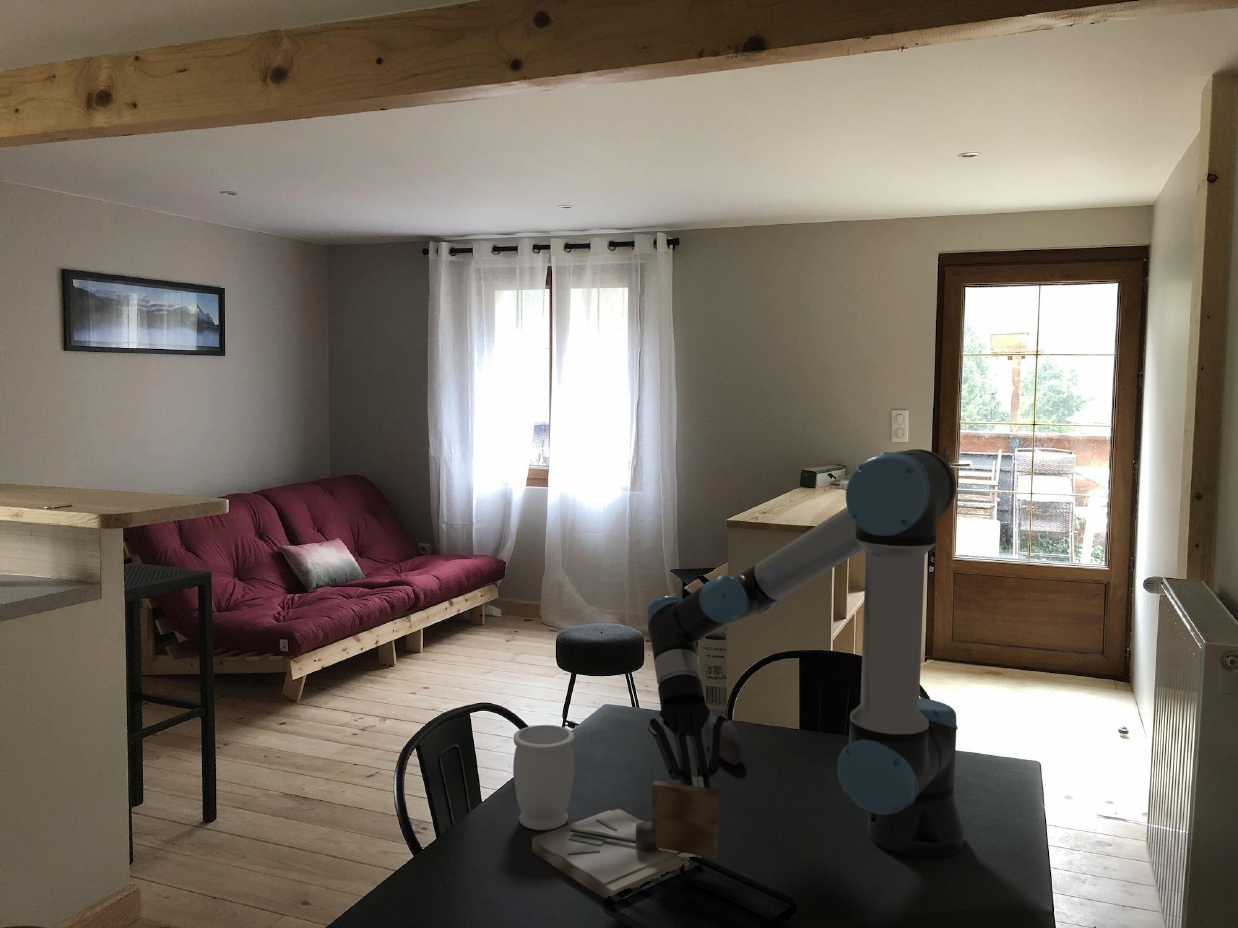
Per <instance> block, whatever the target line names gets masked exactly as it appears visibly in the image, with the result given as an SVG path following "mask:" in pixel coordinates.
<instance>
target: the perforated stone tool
mask: <svg viewBox="0 0 1238 928" xmlns="http://www.w3.org/2000/svg"><path fill="white" fill-rule="evenodd" d="M710 713H711V712H710ZM711 714H713V715H715V716H717V717H718V716H723V717H724V719H725V720H724V722H723V725H722V727H721V729H720V750H719V758H721V759H722V760H723V761H724V762H726V763H728V765H729V764H730V765H732V766H736V765H739V763H740V762H741V760H742V755H743V746H742V745H743V744H742V740H741V738H740V735H739V733H738V731H737V729H736V727H735V725H734V724H733V722H732V721H731V720H730V719H728V717H727V716H725V715H724V714H723V713H720V712H712V713H711ZM703 728H704V737H705V739H706V741H707V743H708V744H709V746H710V734H711V731H712V729H710V728H709V722H708V721H706V723H705V724H704V726H703Z"/></svg>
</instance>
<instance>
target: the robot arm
mask: <svg viewBox="0 0 1238 928" xmlns="http://www.w3.org/2000/svg"><path fill="white" fill-rule="evenodd" d="M956 495H957V480H956V475H955V473H954V471H953V468H952V467H951V465H950V464H949V463H948V461H946V459H944V457H942V456H940V455H939V454H937V453H936V452H933V451H930V450H928V449H921V448H918V449H917V448H916V449H908V450H907V449H906V450H901V451H899V450H898V451H897V450H896V451H889V452H888V451H885V452H882V453H879V454H877V455H874V456H872V457H870V458H868V459H866V460H864V461H863V462H861V463H860V464H859V465H858V466H857V467H856V468H855V470H854V471H853V472H852V474H851V475H850V478H849V480H848V482H847V485H846V490H845V503H846V507H844V508H843V509H841V510H840V511H838V512H836V513H835V514H833V515H832V516H830V517H829V518H827V519H825V520H823V521H822V522H821V523H819V524H818V525H816V526H814V527H813V528H811V529H809V530H808V531H806V532H805V533H803V534H802V535H800V536H799V537H797V538H795V539H793V540H792V541H791V542H789V543H787V544H786V545H784V546H783V547H781V548H780V549H777V551H774V552H773V553H772V554H770V555H769V556H767V557H765V558H764V559H762V560H760V561H759V562H757V563H756V564H755V565H753V566H751V567H750V568H747V570H744V571H742V572H741V573H740V574H738V575H736V576H730V575H728V574H722V575H719V576H717V577H715V578H714V579H711V580H708V581H706V582H705V583H704V585H702V586H701V587H699V588H698V589H696V590H695V591H693V592H692V593H691V594H689V595H688V596H686V597H684V598H682V597H681V596H677V595H666V596H663V597H662V598H657V599H655V600H653V601H652V602H651V603H650V605H649V606H648V608H647V630H648V634H649V638H650V644H651V649H652V655H653V662H654V663H653V664H654V670H655V677H656V683H657V690H658V691H657V692H658V697H659V699H658V700H659V704H660V705H659V706H660V712H659V715H658V716H657V717H655V718H651V719H650V720H649V723H648V726H647V730H648V732H649V733H650V734H651V735H652V736H653V738H654V740H655V741H656V742H655V743H656V745H657V747H658V749H659V752H660V754H661V755H660V756H661V757H662V760H663V762H664V766H665V768H666V770H667V772H668V775H669V778H670V779H671V780H673V781H675V780H677V781H680V784H683V785H689V786H696V787H702V788H709V789H711V785H710V779H713V778H715V777H716V775H717V774H718V771H719V767H720V757H719V750H720V729H721V727H722V725H723V722H724V720H725V719H724V717H723V716H718V717H717V716H715V715H713V714H711V711H710V709H709V707H708V705H707V704H706V699H705V695H704V688H703V683H702V680H701V672H700V667H699V662H698V657H697V656H698V655H697V650H696V645H695V644H696V643H697V642H699V641H700V640H702V639H704V638H705V637H707V636H709V635H710V634H712V633H714V632H716V631H717V630H719V629H721V628H723V627H725V626H728V625H730V624H732V623H735V622H738V621H741V620H743V619H745V618H748V617H750V616H753V615H759V614H762V613H763V612H765V611H767V610H768V609H769V608H771V607H772V606H773V605H774V604H775V603H776V602H778V601H779V600H780V599H783V598H784V597H786V596H787V595H789V594H791V593H793V592H794V591H796V590H798V589H799V588H801V587H803V586H805V585H806V584H808V583H809V582H811V581H813V580H815V579H816V578H819V577H820V576H821V575H824V574H825V573H827V572H828V571H830V570H831V569H833V568H835V567H837V566H838V565H840V564H842V563H843V562H845V561H847V560H848V559H850V558H852V557H854V556H856V555H857V554H858V553H860V552H862V551H864V553H865V560H864V561H865V563H864V566H865V567H864V591H863V592H864V594H863V595H864V596H863V619H862V620H863V623H862V624H863V625H862V626H863V627H862V628H863V629H862V650H861V651H862V654H861V681H860V683H861V684H860V685H861V686H860V703H859V705H858V706H857V707H856V708H854V709H853V710H852V711H851V712H850V714H849V733H848V734H849V737H848V744H846V745H845V746H844V747H843V748H842V750H841V753H840V754H839V757H838V760H837V766H836V767H837V769H836V770H837V771H836V772H837V776H838V781H839V783H840V786H841V787H842V789H843V791H844V792H845V794H847V795H848V797H850V798H851V801H852V802H854V804H856V805H857V806H859V807H860V808H862V809H864V810H866V811H868V812H869V815H868V819H867V820H868V821H867V833H868V836H869V837H870V838H871V840H872V841H873V842H874V843H876V844H877V845H879V846H880V847H882V848H884V849H886V850H888V851H891V852H893V853H895V854H899V855H903V856H906V857H911V858H919V859H943V858H947V857H951V856H954V855H955V854H957V853H959V852H960V851H961V850H962V848H963V847H964V836H965V835H964V828H963V824H962V821H961V817H960V814H959V810H958V808H957V807H958V806H957V803H956V801H955V796H954V795H955V792H954V791H955V774H956V773H955V771H956V770H955V769H956V748H957V730H958V728H959V727H958V725H957V713H956V711H955V709H954V708H953V707H951V706H950V705H948V704H946V703H943V702H940V701H938V700H934V699H929V698H924V697H920V693H921V692H920V691H921V689H920V688H921V687H920V686H921V667H922V665H921V664H922V663H921V662H922V661H921V660H922V641H923V639H922V638H923V637H922V636H923V613H924V588H925V587H924V585H925V583H924V582H925V561H926V554H927V553H928V552H930V551H931V550H932V549H933V548H934V547H935V546H936V545H937V533H938V532H937V529H938V526H937V525H938V524H937V523H938V518H940V517H941V516H943V515H944V514H945V513H946V512H947V511H948V510H949V509H950V507H951V506H952V504H953V502H954V500H955V497H956ZM706 721H708V722H709V728H710V729H712V731H711V734H710V745H709V753H708V761H707V758H706V752H705V747H704V742H703V741H704V740H703V733H702V730H703V728H704V726H705V723H706ZM665 727H666V728H667V729H668V730H669V731H670V732H671V733H672V734H673V736H674V743H675V745H676V752H677V759H678V762H677V759H676V756H675V754H674V752H673V748H672V746H671V743H670V741H669V739H668V736H667V734H666V731H665V729H664V728H665ZM687 737H689V740H690V743H691V745H692V747H691V748H692V752H693V759H694V762H695V768H696V775H697V776H692V767H691V761H690V756H689V755H690V754H689V748H688V742H687ZM707 762H708V764H707Z"/></svg>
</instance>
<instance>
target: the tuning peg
mask: <svg viewBox="0 0 1238 928" xmlns="http://www.w3.org/2000/svg"><path fill="white" fill-rule="evenodd" d="M651 795H652V807H651V808H652V809H651V810H652V811H651V814H652V815H651V821H643V822H640V823H638V824H637V825H636V839H631V838H626V837H620V836H615V835H609V834H603V833H598V832H592V831H586V830H581V829H575V828H570V832H573V833H579V834H585V835H590V836H596V837H601V838H607V839H613V840H618V841H624V842H629V843H635V844H636V847H637V848H638V849H640V850H643V851H652V850H655V849H657V848H661V849H666V850H672V851H678V852H683V853H689V854H694V855H700V856H702V857H705V858H706V857H707V858H712V859H716V857H717V855H718V834H719V833H718V831H719V830H718V829H719V828H718V827H719V823H718V822H719V789H714V788H710V789H709V788H702V787H696V786H689V785H683V784H682V783H675V782H669V781H664V780H663V781H662V780H655V781H653V783H652V793H651Z"/></svg>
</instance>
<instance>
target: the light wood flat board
mask: <svg viewBox="0 0 1238 928" xmlns="http://www.w3.org/2000/svg"><path fill="white" fill-rule="evenodd" d="M640 822H644V821H643V820H641V819H639V818H637V817H635V816H633V815H632V814H630V813H628V812H626V811H624V810H623V809H620V808H616V809H612V810H610V809H609V810H605V811H603V812H599V813H598V814H594V815H593V816H592V815H591V816H589V817H587V818H584V819H581V820H579V821H575V822H573V823H569V824H568V825H565V826H561V827H558V828H555V829H552V830H549V831H547V832H545V833H542V834H540V835H536V836H534V837H532V838H531V841H532V842H531V846H532V847H531V848H532V850H531V851H532V853H533V854H534V855H536V856H538V857H539V858H540V859H543V860H544V861H545V862H547V863H549V864H550V865H552V866H553V867H555V868H556V869H558V870H559V871H561V872H562V873H564V874H565V875H567V876H569V877H570V878H572V879H574V880H575V881H576V882H577V883H580V884H581V885H582V886H584V887H586V888H587V889H589V890H590V891H592V892H594V893H595V894H596V895H598V896H600V897H601V898H603V899H604V900H606V899H605V898H607V897H608V896H613V895H615V894H617V893H618V892H620V891H623V890H624V889H628V888H635V887H640V886H641V885H643V884H644V883H646V882H647V881H651V879H653V878H654V879H655V878H660V877H661V875H662V874H663V875H664V874H665V873H666V872H668V871H672V870H675V869H678V868H679V867H680V868H681V866H682V865H683V864H684V865H686V866H689V864H690V863H689V862H688V861H687V860H689V859H690V858H689V857H698V858H703V856H700V855H694V854H689V853H683V852H678V851H672V850H666V849H661V848H657V849H655V850H652V851H643V850H640V849H638V848H637V847H636V844H635V843H629V842H624V841H618V840H613V839H607V838H601V837H596V836H590V835H585V834H579V833H573V832H570V828H575V829H581V830H586V831H592V832H598V833H603V834H609V835H615V836H620V837H626V838H631V839H636V825H637V824H638V823H640ZM685 858H686V859H685ZM683 859H684V861H681V860H683Z"/></svg>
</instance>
